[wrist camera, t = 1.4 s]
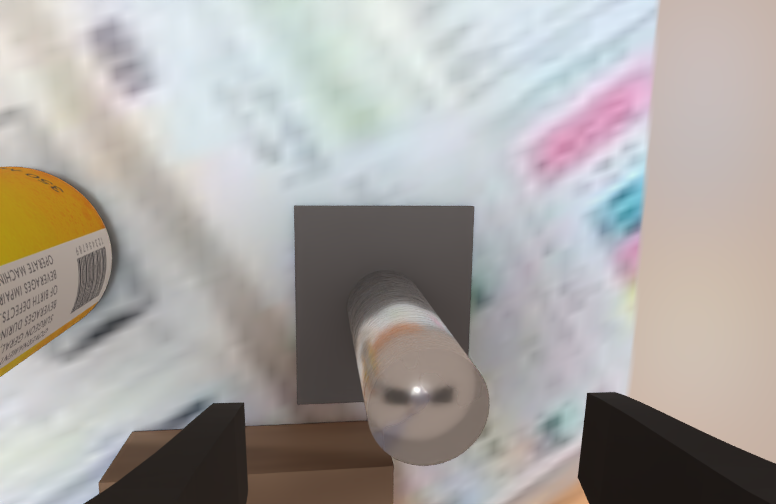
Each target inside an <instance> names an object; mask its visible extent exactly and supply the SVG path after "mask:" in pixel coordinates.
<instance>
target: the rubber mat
mask: <svg viewBox="0 0 776 504" xmlns="http://www.w3.org/2000/svg"><path fill="white" fill-rule="evenodd" d="M473 226H474V207H473V206H294V227H295V290H296V353H297V405H300V404H324V403H347V402H364V398H363V393H362V387H361V382H360V377H359V371H358V366H357V361H356V356H355V350H354V345H353V340H352V334H351V329H350V324H349V318H348V313H347V302H348V298H349V295H350V292H351V291H352V289H353V287H354V286H355V284H356V283H357V282H358V281H359V280H360V279H362V278H363V277H364V276H366V275H368V274H370V273H372V272H375V271H380V270H391V271H396V272H399V273H401V274H403V275H405V276H407V277H408V278H409V279H410V280H412V282H413V283H414V284H415V285H416V287H417V288H418V289H419V291H420V292H421V293H422V295H423V296H424V297H425V299H426V300H427V301H428V303H429V304H430V306H431V307H432V308H433V310H434V311H435V312H436V314H437V315H438V316H439V318H440V319H441V321H442V322H443V323H444V325H445V326H446V327H447V329H448V330H449V331H450V333H451V334H452V335H453V337H454V338H455V340H456V341H457V342H458V344H459V345H460V346H461V348H462V349H463V350H464V352H465V353H466V354H467V356H468V349H469V324H470V300H471V275H472V251H473Z"/></svg>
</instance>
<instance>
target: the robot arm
mask: <svg viewBox="0 0 776 504" xmlns="http://www.w3.org/2000/svg"><path fill="white" fill-rule="evenodd" d="M578 479H579V481H580V483H581V486H582V488H583V490H584V493H585V495H586V497H587V500H588V502H589V504H776V464H775V463H772V462H770V461H768V460H765V459H763V458H760V457H758V456H756V455H753V454H751V453H749V452H746V451H744V450H742V449H740V448H737V447H735V446H732V445H730V444H728V443H726V442H724V441H721V440H719V439H717V438H715V437H713V436H711V435H709V434H706V433H704V432H702V431H700V430H698V429H696V428H694V427H692V426H690V425H687V424H685V423H683V422H681V421H679V420H677V419H675V418H673V417H671V416H668V415H666V414H665V413H662V412H660V411H658V410H656V409H654V408H652V407H650V406H648V405H645V404H643V403H641V402H639V401H637V400H634V399H632V398H630V397H627V396H624V395H622V394H619V393H616V392H606V393H587V400H586V409H585V418H584V427H583V436H582V445H581V454H580V463H579V472H578ZM247 496H248V476H247V455H246V435H245V414H244V403H213V404H212V405H211V406H209V407H208V408H207V409H206V410H204V411H203V412H202V413H201V414H200V415H199V416H198V417H196V418H195V419H194V420H193V421H192V422H191V423H190V424H188V425H187V426H186V427H185V428H184V429H183V430H182V431H180V432H179V433H178V434H177V435H176V436H174V437H173V438H172V439H171V440H170V441H169V442H167V443H166V444H165V445H164V446H163V447H161V448H160V449H159V450H158V451H157V452H155V453H154V454H153V455H152V456H150V457H149V458H148V459H146V460H145V461H144V462H142V463H141V464H140V465H138V466H137V467H136V468H134V469H133V470H132V471H130V472H129V473H128V474H127V475H125V476H124V477H123V478H121V479H120V480H119V481H117V482H116V483H114V484H113V485H112V486H110V487H109V488H107V489H106V490H104V491H103V492H101V493H100V494H98V495H97V496H95V497H94V498H92V499H91V500H89V501H87V502H86V503H84V504H246V502H247Z"/></svg>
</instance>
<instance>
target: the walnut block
mask: <svg viewBox="0 0 776 504" xmlns="http://www.w3.org/2000/svg"><path fill="white" fill-rule="evenodd" d="M182 430H183V429H182ZM182 430H161V431H139V432H132V433H131V434H130V436H129V438H128V439H127V441H126V442H125V444H124V445H123V447H122V448H121V450H120V451H119V453H118V454H117V456H116V457H115V459H114V460H113V462H112V463H111V465H110V466H109V468H108V469H107V471H106V472H105V474H104V476H103V477H102V479H101V480H100V482H99V494H100V493H101V492H103V491H104V490H106V489H107V488H109V487H110V486H112V485H113V484H114V483H116V482H117V481H119V480H120V479H121V478H123V477H124V476H125V475H127V474H128V473H129V472H130V471H132V470H133V469H134V468H136V467H137V466H138V465H140V464H141V463H142V462H144V461H145V460H146V459H148V458H149V457H150V456H152V455H153V454H154V453H155V452H157V451H158V450H159V449H160V448H161V447H163V446H164V445H165V444H166V443H167V442H169V441H170V440H171V439H172V438H173V437H174V436H176V435H177V434H178V433H179V432H180V431H182ZM245 435H246V455H247V476H248V496H247V502H246V504H393V471H394V466H393V462H392V458H391V456H390V455H389V454H387V453H386V452H385V451H384V450H383V449H382V448H381V447H380V446H379V445H378V443H377V442H376V441H375V439H374V437H373V435H372V433H371V431H370V428H369V424H368V421H354V422H333V423H311V424H290V425H268V426H247V427H245Z"/></svg>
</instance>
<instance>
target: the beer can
mask: <svg viewBox="0 0 776 504" xmlns="http://www.w3.org/2000/svg"><path fill="white" fill-rule="evenodd" d="M111 267H112V251H111V244H110V239H109V236H108V233H107V230H106V227H105V225H104V223H103V221H102V219H101V217H100V216H99V214H98V213H97V211H96V209H95V208H94V207H93V206H92V204H91V203H90V202H89V201H88V200H87V199H86V198H85V197H84V196H83V195H82V194H81V193H80V192H79V191H77V190H76V189H75V188H74V187H72V186H71V185H69V184H68V183H66V182H65V181H63V180H61V179H59V178H57V177H55V176H53V175H50V174H48V173H45V172H42V171H38V170H35V169H30V168H23V167H0V377H1V376H2V375H4V374H5V373H6V372H8V371H9V370H11V369H12V368H14V367H15V366H16V365H18V364H19V363H21V362H22V361H23V360H25V359H26V358H28V357H29V356H30V355H32V354H33V353H35V352H36V351H37V350H39V349H40V348H42V347H43V346H44V345H46V344H47V343H49V342H50V341H51V340H53V339H54V338H56V337H57V336H58V335H60V334H61V333H63V332H64V331H65V330H67V329H68V328H70V327H71V326H72V325H74V324H75V323H77V322H78V321H79V320H81V319H82V318H83V317H85V316H86V315H87V314H88V313H89V312H90V311H91V310H92V309H93V308H94V307H95V305H96V304H97V303H98V302H99V300H100V298H101V297H102V295H103V294H104V291H105V289H106V287H107V285H108V281H109V278H110V274H111Z"/></svg>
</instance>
